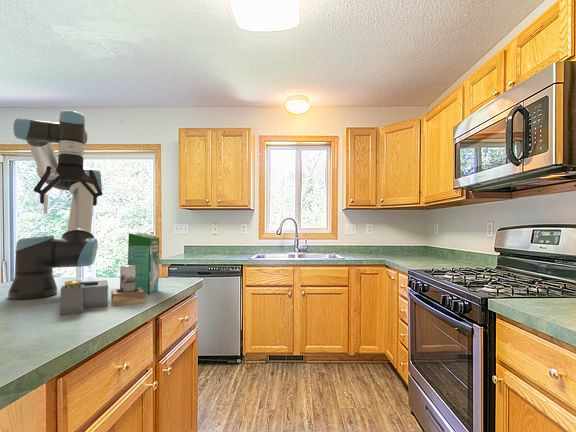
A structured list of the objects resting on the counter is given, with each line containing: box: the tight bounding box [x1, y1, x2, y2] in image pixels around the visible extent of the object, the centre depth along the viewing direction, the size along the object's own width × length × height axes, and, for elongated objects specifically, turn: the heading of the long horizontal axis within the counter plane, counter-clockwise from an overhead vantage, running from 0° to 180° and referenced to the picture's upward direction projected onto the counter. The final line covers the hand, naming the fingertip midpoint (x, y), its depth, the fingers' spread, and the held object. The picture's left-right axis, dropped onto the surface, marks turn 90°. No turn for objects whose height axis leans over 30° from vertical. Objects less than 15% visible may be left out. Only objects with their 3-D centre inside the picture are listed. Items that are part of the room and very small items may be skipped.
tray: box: [110, 287, 145, 307], centre depth 118 cm, size 10×10×4 cm
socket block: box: [59, 279, 109, 316], centre depth 111 cm, size 19×13×8 cm
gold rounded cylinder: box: [64, 280, 82, 288], centre depth 103 cm, size 4×4×7 cm
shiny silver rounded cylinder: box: [119, 264, 136, 293], centre depth 118 cm, size 5×5×12 cm
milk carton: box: [127, 232, 160, 296], centre depth 135 cm, size 9×9×25 cm
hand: (69, 214), depth 115 cm, fingers open, 13 cm apart
